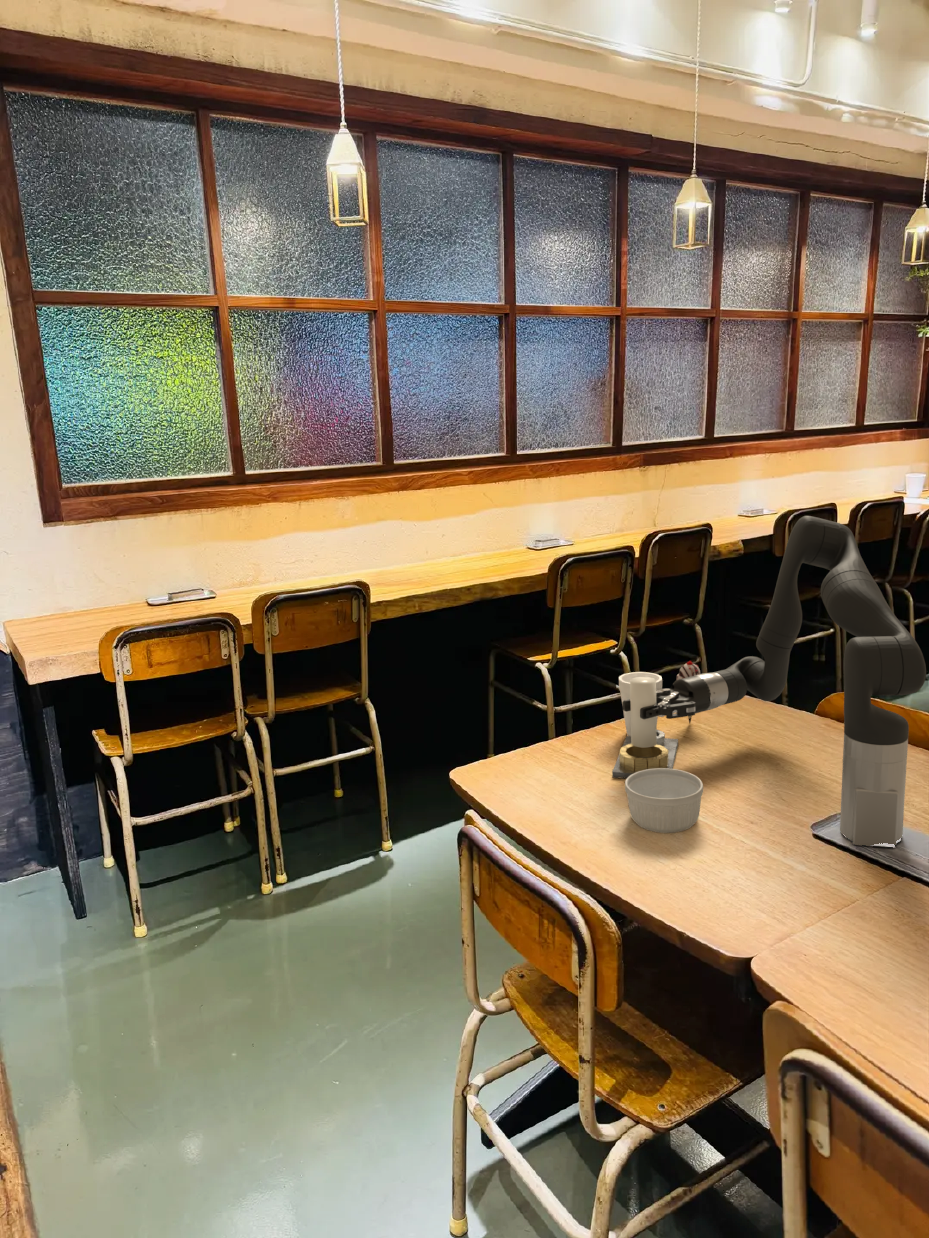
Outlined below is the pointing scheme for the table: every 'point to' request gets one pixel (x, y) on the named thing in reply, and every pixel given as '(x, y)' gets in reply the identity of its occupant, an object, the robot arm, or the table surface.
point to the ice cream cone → (688, 673)
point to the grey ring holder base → (645, 756)
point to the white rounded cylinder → (639, 698)
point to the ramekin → (664, 799)
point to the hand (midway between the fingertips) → (632, 710)
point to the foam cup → (625, 691)
